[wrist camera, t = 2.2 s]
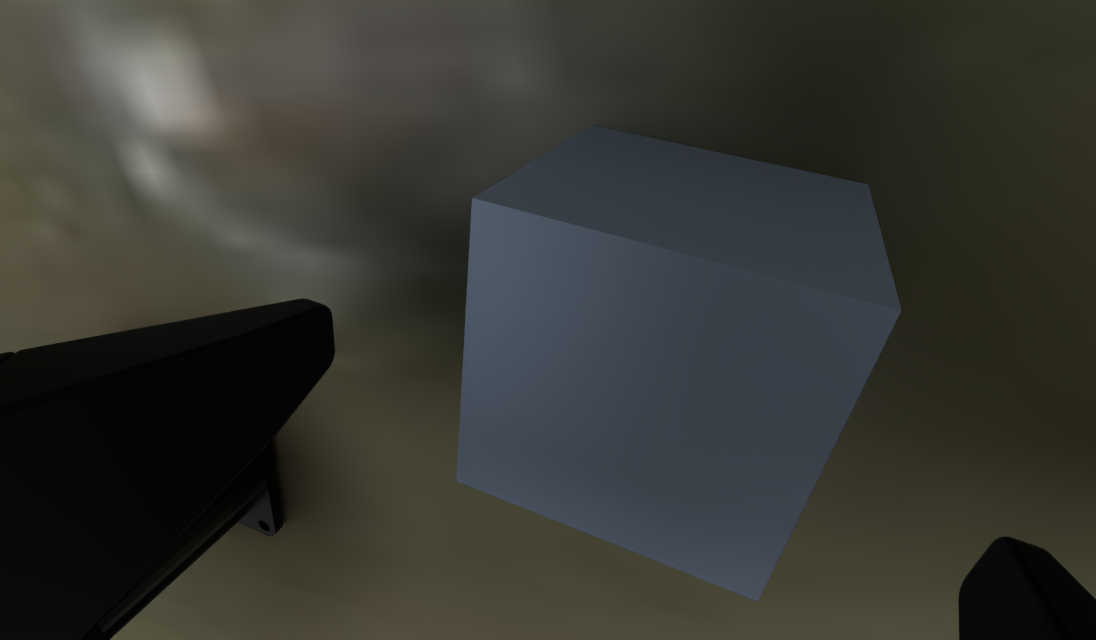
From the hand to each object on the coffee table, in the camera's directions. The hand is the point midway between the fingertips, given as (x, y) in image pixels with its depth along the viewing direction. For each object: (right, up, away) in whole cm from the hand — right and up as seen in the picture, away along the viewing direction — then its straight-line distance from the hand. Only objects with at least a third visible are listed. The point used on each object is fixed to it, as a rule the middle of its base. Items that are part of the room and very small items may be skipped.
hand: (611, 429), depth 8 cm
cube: (+2, +2, +4) cm, 5 cm away
